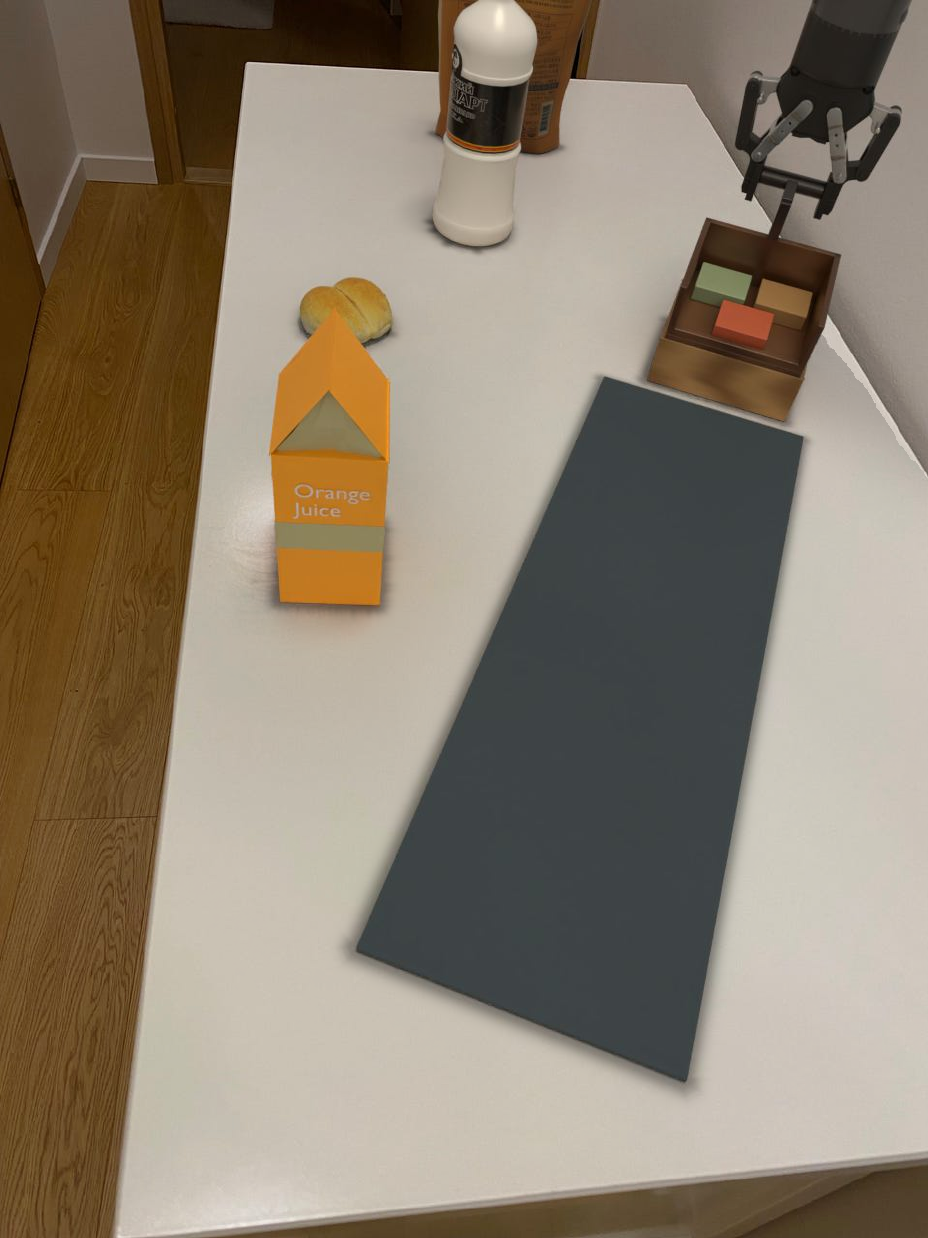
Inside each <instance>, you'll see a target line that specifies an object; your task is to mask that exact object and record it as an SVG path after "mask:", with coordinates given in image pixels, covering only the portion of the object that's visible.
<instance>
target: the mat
mask: <svg viewBox="0 0 928 1238" xmlns="http://www.w3.org/2000/svg"><path fill="white" fill-rule="evenodd" d="M804 438H805V436H804V435H800V434H797V433H793V432H790V431H786V430H784V429H779V428H777V427H773V426H769V425H767V424H763V423H760V422H758V421H754V420H751V419H747V418H744V417H739V416H737V415H734V414H731V413H727V412H725V411H720V410H717V409H714V408H711V407H707V406H704V405H701V404H698V403H695V402H691V401H687V400H684V399H681V398H677V397H674V396H671V395H667V394H664V393H661V392H659V391H655V390H651V389H648V388H645V387H642V386H638V385H635V384H632V383H629V382H625V381H621V380H619V379H615V378H612V377H608V376H604V377H603V379H602V381H601V382H600V385H599V387H598V390H597V392H596V394H595V397H594V399H593V401H592V404H591V406H590V408H589V410H588V412H587V416H586V417H585V419H584V422H583V424H582V427H581V429H580V431H579V434H578V436H577V438H576V440H575V443H574V445H573V448H572V449H571V452H570V455H569V457H568V459H567V462H566V463H565V466H564V467H563V471H562V473H561V476H560V477H559V480H558V482H557V484H556V487H555V489H554V492H553V494H552V496H551V498H550V501H549V503H548V505H547V507H546V509H545V512H544V513H543V516H542V519H541V521H540V524H539V526H538V528H537V530H536V533H535V535H534V538H533V539H532V542H531V544H530V547H529V549H528V551H527V553H526V556H525V558H524V561H523V563H522V566H521V567H520V570H519V572H518V574H517V577H516V579H515V581H514V583H513V586H512V589H511V590H510V592H509V595H508V598H507V599H506V602H505V604H504V606H503V609H502V611H501V613H500V616H499V618H498V620H497V623H496V624H495V628H494V629H493V632H492V634H491V636H490V639H489V641H488V643H487V645H486V648H485V650H484V652H483V655H482V657H481V660H480V661H479V664H478V666H477V668H476V671H475V673H474V675H473V678H472V680H471V682H470V685H469V687H468V689H467V692H466V694H465V696H464V698H463V700H462V703H461V705H460V708H459V710H458V713H457V715H456V717H455V720H454V721H453V724H452V726H451V729H450V730H449V732H448V735H447V738H446V740H445V742H444V744H443V747H442V749H441V751H440V753H439V756H438V758H437V761H436V763H435V765H434V768H433V770H432V772H431V774H430V777H429V779H428V781H427V784H426V786H425V788H424V791H423V793H422V795H421V798H420V800H419V802H418V804H417V807H416V809H415V811H414V814H413V815H412V818H411V821H410V822H409V825H408V827H407V830H406V832H405V834H404V837H403V839H402V841H401V843H400V846H399V848H398V850H397V853H396V855H395V857H394V859H393V862H392V864H391V867H390V868H389V871H388V874H387V876H386V877H385V880H384V882H383V885H382V887H381V889H380V892H379V893H378V897H377V899H376V901H375V903H374V906H373V907H372V910H371V913H370V914H369V917H368V919H367V922H366V924H365V927H364V928H363V931H362V934H361V936H360V938H359V940H358V943H357V944H356V948H355V950H356V952H359V953H362V954H364V955H366V956H368V957H372V958H374V959H377V960H379V961H382V962H385V963H387V964H389V965H392V966H395V967H397V968H400V969H403V970H405V971H407V972H410V973H412V974H415V975H417V976H418V977H419V976H420V977H422V978H425V979H427V980H429V981H431V982H434V983H437V984H440V985H442V986H444V987H447V988H449V989H452V990H454V991H457V992H459V993H462V994H464V995H467V996H470V997H472V998H475V999H476V1000H480V1001H481V1002H484V1003H487V1004H490V1005H492V1006H494V1007H497V1008H498V1009H499V1008H500V1009H502V1010H504V1011H507V1012H509V1013H512V1014H514V1015H517V1016H519V1017H522V1018H524V1019H527V1020H529V1021H532V1022H534V1023H537V1024H540V1025H542V1026H545V1027H547V1028H549V1029H552V1030H555V1031H557V1032H560V1033H562V1034H565V1035H566V1036H570V1037H572V1038H574V1039H576V1040H577V1039H578V1040H579V1041H582V1042H584V1043H587V1044H590V1045H592V1046H595V1047H597V1048H600V1049H602V1050H604V1051H607V1052H609V1053H612V1054H615V1055H617V1056H620V1057H622V1058H625V1059H627V1060H630V1061H632V1062H634V1063H637V1064H639V1065H643V1066H644V1067H647V1068H650V1069H652V1070H655V1071H657V1072H660V1073H662V1074H665V1075H667V1076H669V1077H671V1078H674V1079H677V1080H680V1081H682V1082H687V1081H688V1079H689V1078H688V1077H689V1073H690V1068H691V1062H692V1057H693V1050H694V1044H695V1039H696V1034H697V1027H698V1023H699V1018H700V1011H701V1006H702V1002H703V1001H702V1000H703V996H704V989H705V984H706V978H707V973H708V968H709V962H710V956H711V951H712V945H713V940H714V935H715V929H716V923H717V918H718V913H719V907H720V901H721V896H722V892H723V891H722V890H723V885H724V880H725V879H724V878H725V874H726V869H727V864H728V863H727V862H728V857H729V851H730V846H731V841H732V835H733V829H734V823H735V817H736V813H737V808H738V803H739V796H740V792H741V786H742V780H743V774H744V769H745V764H746V757H747V752H748V748H749V741H750V737H751V736H750V735H751V730H752V724H753V720H754V713H755V709H756V702H757V697H758V691H759V686H760V680H761V675H762V671H763V670H762V669H763V664H764V658H765V653H766V648H767V643H768V637H769V631H770V625H771V620H772V614H773V610H774V609H773V608H774V604H775V598H776V594H777V593H776V592H777V587H778V582H779V576H780V571H781V565H782V558H783V553H784V549H785V543H786V537H787V533H788V532H787V531H788V526H789V520H790V515H791V510H792V504H793V498H794V493H795V488H796V482H797V478H798V477H797V476H798V471H799V465H800V459H801V455H802V449H803V444H804Z"/></svg>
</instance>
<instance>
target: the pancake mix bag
mask: <svg viewBox="0 0 928 1238" xmlns="http://www.w3.org/2000/svg"><path fill="white" fill-rule="evenodd" d="M477 1H478V0H438V9H437V20H438V21H437V23H438V25H437V26H438V27H437V28H438V91H439V92H438V94H439V110H440V111H439V115H438V118H437V121H436V126H435V130H434V133H435V134H437V135H438V136H440V137H441V138H443V137H444V134H445V132H446V126H447V115H448V104H449V94H450V83H451V72H452V61H453V59H452V54H453V51H454V26H455V23H456V20H457V18H458V16H459V15H460V14H461V12H462V11H463V10H464V9H466V8H467V7H469V6H470V5H472V4H474V3H475V2H477ZM514 1H515V2H516V3H517V4H518V5H519V6H520V7H521V8H522V9H523V10H524V11H525V12H526V13H527V15H528V16H529V17H530V18H531V19H532V21H533V22H534V25H535V27H536V33H537V47H536V51H535V55H534V59H533V63H532V65H533V71H532V74H531V76H530V79H529V86H528V92H527V99H526V105H525V112H524V118H523V125H522V131H521V138H520V144H521V151H520V153H521V152H522V153H529V154H537V155H539V154H544V153H545V154H546V153H549V152H551V151H553V150H555V149H556V148H558V147H560V146H561V142H560V140H561V139H560V138H561V137H560V122H561V114H562V113H561V112H562V107H563V102H564V99H565V95H566V91H567V88H568V86H569V83H570V80H571V77H572V71H573V66H574V62H575V58H576V54H577V49H578V48H577V47H578V43H579V40H580V37H581V34H582V32H583V29H584V27H585V23H586V21H587V18H588V15H589V12H590V9H591V7H592V3H593V0H514Z"/></svg>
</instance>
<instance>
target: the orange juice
mask: <svg viewBox="0 0 928 1238" xmlns="http://www.w3.org/2000/svg"><path fill="white" fill-rule="evenodd" d="M390 435H391V382H390V378H387V376H386V375H385V373H384V372H383V371H382V369H381V368H380V367H379V366H378V364H377V363H376V361H375V359H373V358H372V356H371V354H370V353H369V352H368V351H367V349H366V348H365V347H364V346H363V343H362V344H361V343H360V342H359V340H358V339H357V338H356V336H355V335H354V334H353V332H352V331H351V330H350V328H349V327H348V326H347V324H346V323H345V322H344V320H343V319H342V318H341V316H340V315H339V314H338V312H337V311H336V307H335V308H334V310H333V311H332V312H331V313H330V314H329V315H328V317H327V318H326V319H325V320H324V321H323V323H322V324H321V325H320V326H319V327H318V329H317V330H316V331H315V332H314V333H313V334H312V335H311V336H310V337H309V338H308V339H307V340H306V341H305V343H304V344H303V345H302V346H301V347H300V348H299V350H298V351H297V352H296V353H295V354H294V356H292V358H291V359H290V360H289V362H288V363H287V364H286V365H285V367H284V368H282V370H281V371H280V372H279V373H278V379H277V387H276V396H275V403H274V411H273V419H272V427H271V435H270V443H269V449H268V450H269V451H268V457H270V465H271V471H270V475H271V482H272V495H273V509H274V510H273V511H274V513H273V514H274V536H275V549H276V556H277V557H276V558H277V559H276V560H277V573H278V574H277V575H278V589H279V602H280V603H294V604H295V603H299V604H325V605H352V606H353V605H354V606H355V605H356V606H357V605H358V606H380V605H381V589H382V588H381V587H382V574H383V573H382V572H383V558H384V557H383V555H384V549H385V532H386V509H387V493H388V491H389V490H388V487H389V486H388V485H389V480H388V478H389V465H390V462H391V461H390V458H391V457H390V455H391V454H390V452H391V449H390V447H391V446H390V442H391V440H390V439H391V436H390Z"/></svg>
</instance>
